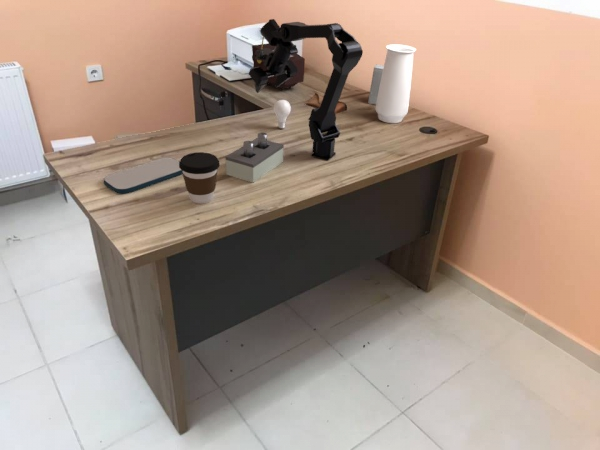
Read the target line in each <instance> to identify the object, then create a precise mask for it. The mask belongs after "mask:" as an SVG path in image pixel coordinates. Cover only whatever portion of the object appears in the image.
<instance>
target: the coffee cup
mask: <svg viewBox="0 0 600 450" xmlns="http://www.w3.org/2000/svg"><path fill="white" fill-rule="evenodd" d="M179 168H180V169H181V170H182V171H183V174H182V176H183V181H184V184H185V188H186V191H187V192H188V198H189V199H190V201H191V202H192V203H195V204H197V205H198V204H199V205H200V204H201V205H202V204H204V205H205V204H206V203H207V204H209V203H210V202H212V200H213V198H214V197H215V196H214V195H215V190H216V186H217V185H216V184H217V177H218V169H219V168H220V160H219V159H218V157H217V156H216V155H214V154H212V153H208V152H202V151H201V152H191V153H187V154H186V155H183V156H182V157H181V158H180V161H179Z"/></svg>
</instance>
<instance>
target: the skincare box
mask: <svg viewBox="0 0 600 450" xmlns="http://www.w3.org/2000/svg"><path fill="white" fill-rule="evenodd" d="M383 68H384V64H383V65H382V64H375V65H374V67H373V72H372V78H371V84H370V90H369V94H368V100H367V101H368V102H367V103H368V104H369V105H375V106H376V102H377V97H378V92H379V87H380V82H381V77H382V73H383Z"/></svg>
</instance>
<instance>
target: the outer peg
mask: <svg viewBox="0 0 600 450" xmlns="http://www.w3.org/2000/svg"><path fill="white" fill-rule="evenodd" d="M252 141H253V140H244V141H243V142H242V143H243V146H242V147H243V151H244V157H247V158H252V157H253V142H252Z"/></svg>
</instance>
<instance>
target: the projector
mask: <svg viewBox="0 0 600 450" xmlns="http://www.w3.org/2000/svg"><path fill="white" fill-rule="evenodd" d="M264 39H265V38H264V37H263V36H262V41H261V43H260V44H255V45H251V51H252V55H251V59H252V62H253V67H252V68H255V67H261V68H262V69H263V70H264V71H266V70H267V67H265V66H264V62H263V61H261V60H257V59H256V58H255V52H256V50H259V49H264V48H269V49H271V50H272V51H274V49H275V47H276V46H271V45H270V44H269V43H268V42H267V43H264ZM289 59H290V60H291V61H292V62H293V63H294V65H295V66H296V67H297V69H298V72H297V74H296V75H295V76H293V77H292V78H290V79H288V80H287V81H285V82H284V83H282V84H281V85H280V86H278V87H277V88H280V91H283V89H287V88H288V89H289V90H291V88H294V87H295V86H296V85H298V84H299V83H303V82H304V80H305V78H304V77H305V61H306V60H305V57H302V55H299V54H298V53H296V54H291V55H290V58H289ZM276 79H277V76H271V77H268V81H267V82H266V83H267V84H266V86H269V85H270V84H271V85H273V86H275V82H276Z"/></svg>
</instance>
